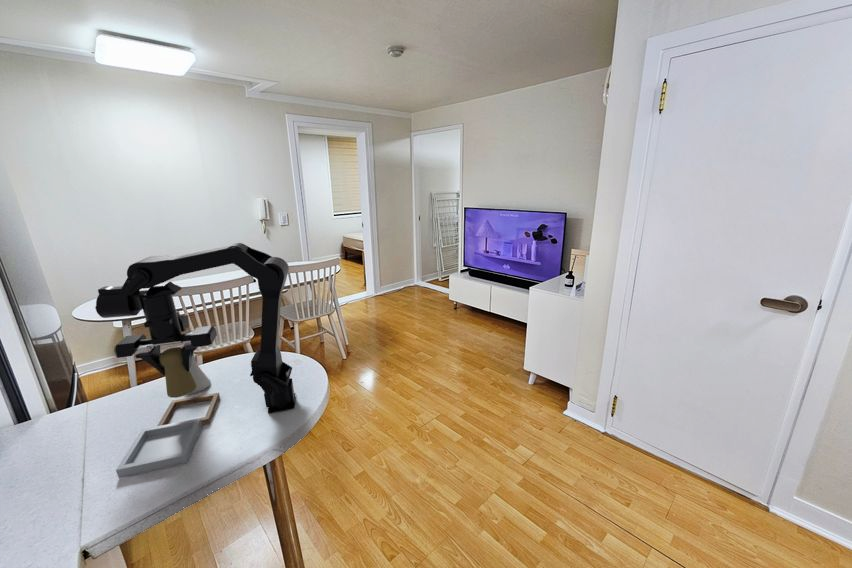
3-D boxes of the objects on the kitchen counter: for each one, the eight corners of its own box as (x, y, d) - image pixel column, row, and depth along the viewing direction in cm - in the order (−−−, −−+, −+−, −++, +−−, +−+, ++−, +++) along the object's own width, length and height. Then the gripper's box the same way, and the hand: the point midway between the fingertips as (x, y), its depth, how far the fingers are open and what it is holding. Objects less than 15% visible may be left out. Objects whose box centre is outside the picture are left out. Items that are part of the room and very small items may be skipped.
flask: (204, 376, 104) (197, 347, 101) (216, 385, 100) (208, 354, 97) (177, 388, 98) (168, 358, 95) (188, 398, 94) (179, 366, 91)
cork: (181, 399, 81) (170, 358, 78) (160, 395, 82) (148, 355, 79) (202, 384, 87) (192, 345, 83) (182, 381, 88) (171, 343, 85)
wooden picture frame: (220, 397, 94) (218, 392, 94) (209, 423, 85) (208, 418, 84) (173, 405, 91) (172, 400, 91) (156, 434, 81) (155, 429, 81)
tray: (202, 425, 84) (200, 417, 83) (187, 463, 73) (184, 455, 73) (144, 436, 81) (141, 429, 80) (119, 478, 70) (115, 470, 69)
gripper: (215, 296, 88) (227, 350, 93) (128, 305, 83) (145, 361, 88) (203, 312, 78) (217, 372, 83) (103, 324, 73) (124, 386, 78)
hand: (177, 372), depth 83 cm, fingers closed on cork, 5 cm apart
